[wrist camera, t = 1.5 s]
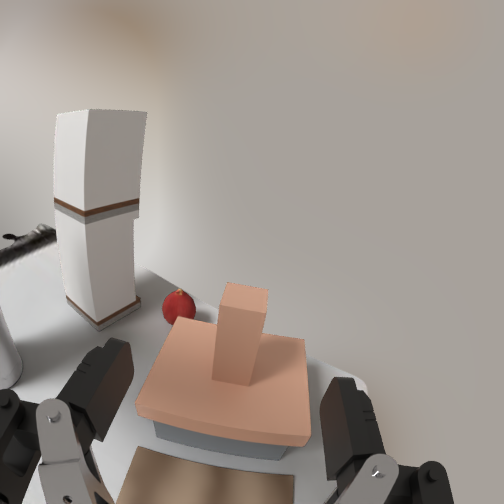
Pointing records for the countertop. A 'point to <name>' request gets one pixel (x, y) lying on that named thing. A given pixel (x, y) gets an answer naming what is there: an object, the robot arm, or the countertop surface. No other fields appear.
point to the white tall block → (98, 209)
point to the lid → (231, 376)
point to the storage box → (218, 443)
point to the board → (198, 483)
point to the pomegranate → (178, 306)
